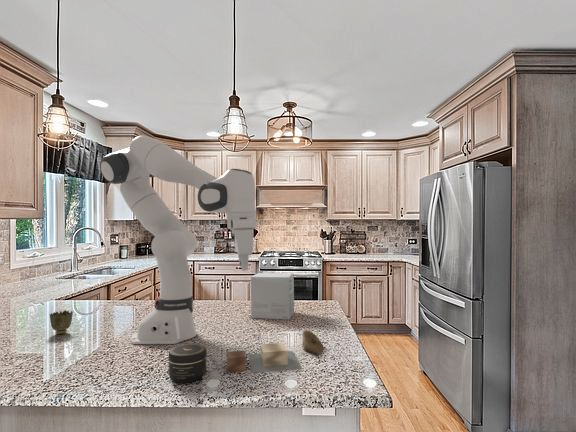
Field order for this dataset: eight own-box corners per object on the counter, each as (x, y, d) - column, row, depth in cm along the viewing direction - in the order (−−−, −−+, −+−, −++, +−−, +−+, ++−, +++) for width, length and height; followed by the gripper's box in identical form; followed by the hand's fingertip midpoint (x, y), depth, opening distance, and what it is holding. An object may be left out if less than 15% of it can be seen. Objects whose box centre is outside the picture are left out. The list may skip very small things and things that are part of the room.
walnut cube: (227, 376, 101) (227, 358, 101) (227, 369, 105) (226, 351, 106) (246, 375, 101) (245, 356, 102) (244, 368, 106) (244, 350, 106)
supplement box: (294, 312, 170) (294, 272, 170) (289, 320, 157) (289, 277, 157) (258, 311, 173) (257, 272, 173) (250, 318, 160) (250, 276, 160)
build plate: (252, 376, 100) (252, 372, 100) (248, 357, 114) (248, 354, 114) (302, 372, 103) (302, 368, 103) (292, 354, 117) (292, 351, 117)
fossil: (305, 340, 112) (304, 324, 122) (295, 350, 113) (295, 333, 123) (326, 358, 113) (324, 341, 123) (317, 368, 114) (315, 350, 124)
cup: (77, 332, 142) (77, 311, 142) (58, 337, 135) (58, 315, 135) (64, 330, 145) (64, 309, 145) (45, 335, 138) (45, 313, 138)
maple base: (263, 366, 104) (263, 352, 104) (260, 357, 111) (260, 344, 111) (288, 364, 106) (287, 350, 106) (283, 355, 113) (283, 342, 113)
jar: (204, 384, 95) (203, 355, 96) (164, 386, 95) (164, 356, 95) (209, 369, 105) (209, 342, 106) (173, 370, 105) (173, 343, 105)
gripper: (229, 222, 122) (231, 265, 122) (233, 222, 102) (234, 273, 102) (249, 222, 123) (250, 264, 123) (256, 221, 103) (257, 271, 103)
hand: (243, 268), depth 112 cm, fingers open, 8 cm apart
